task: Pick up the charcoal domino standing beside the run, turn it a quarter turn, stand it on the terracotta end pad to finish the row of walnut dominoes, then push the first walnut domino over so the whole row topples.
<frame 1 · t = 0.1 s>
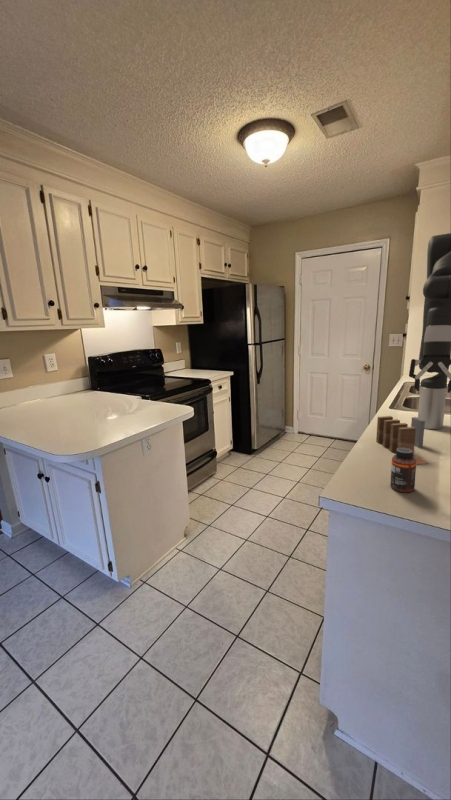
hand: (432, 391, 106), 22 cm above the counter, tool pointing down, fingers open, 8 cm apart
domino 1: (383, 442, 125), on the counter
domino 3: (397, 450, 116), on the counter
domino 5: (416, 445, 120), on the counter
domino 2: (390, 446, 120), on the counter
supplement bottle: (401, 488, 91), on the counter
domino 4: (405, 455, 112), on the counter
end pad: (413, 461, 107), on the counter
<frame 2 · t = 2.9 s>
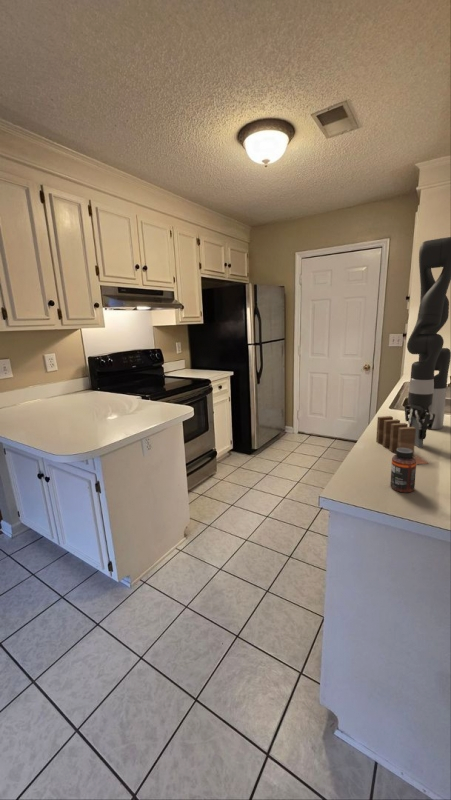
hand: (416, 436, 120), 3 cm above the counter, tool pointing down, fingers closed on domino 5, 5 cm apart
domino 5: (416, 445, 120), on the counter, touching gripper
everything else where it was.
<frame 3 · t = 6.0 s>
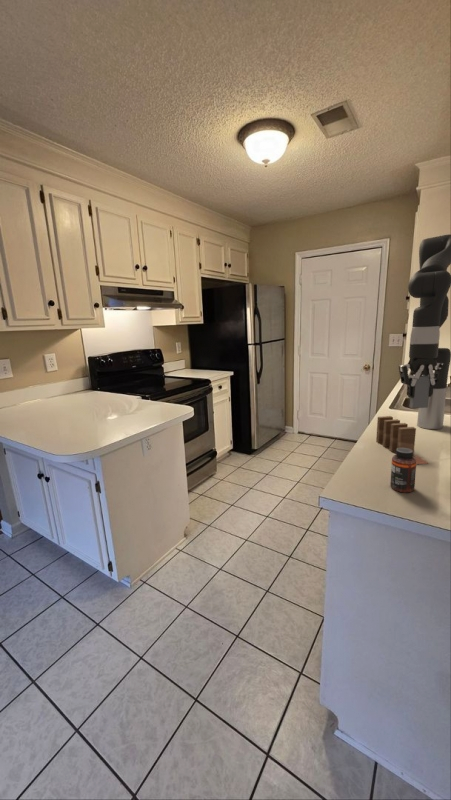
hand: (419, 396, 102), 22 cm above the counter, tool pointing down, fingers closed on domino 5, 5 cm apart
domino 5: (418, 407, 103), point 18 cm above the counter, touching gripper
everything else where it was.
when the fingers open (4 cm above the counter, at t = 9.2 s): domino 5 stays where it is, resting on end pad.
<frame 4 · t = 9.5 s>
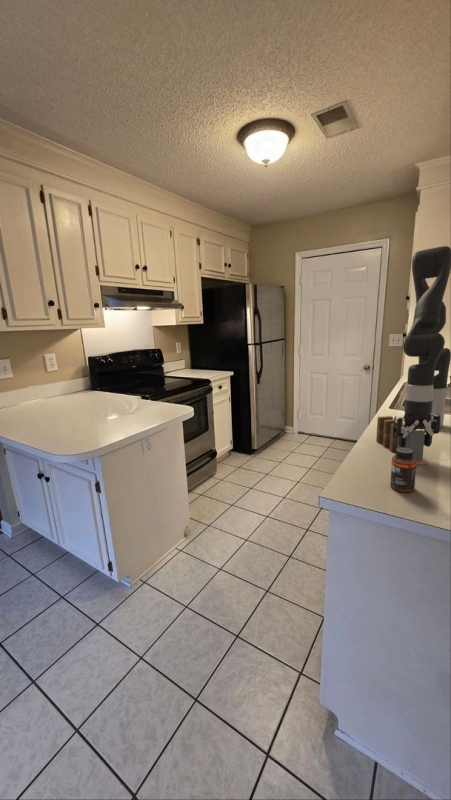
hand: (414, 446, 106), 5 cm above the counter, tool pointing down, fingers open, 8 cm apart
domino 5: (413, 460, 107), resting on end pad
everything else where it was.
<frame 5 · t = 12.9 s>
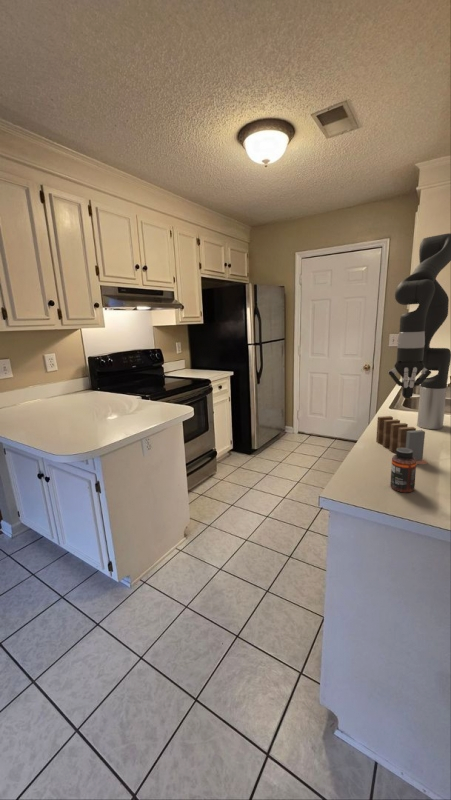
hand: (406, 398, 109), 20 cm above the counter, tool pointing down, fingers closed
nothing on the counter moved.
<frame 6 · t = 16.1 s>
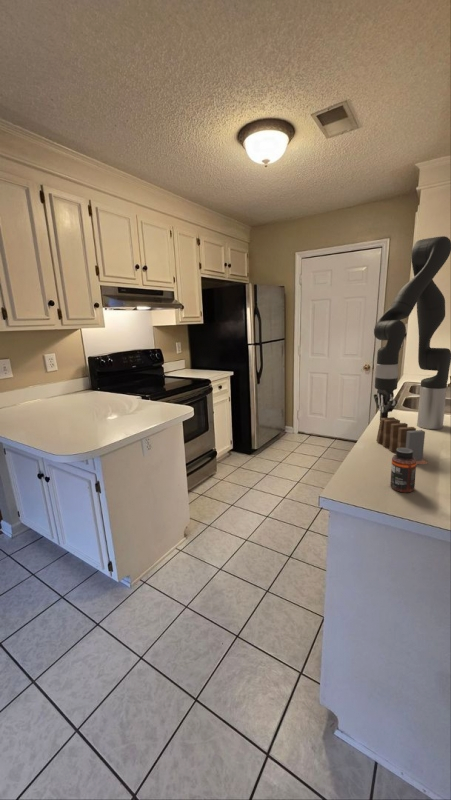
hand: (383, 421, 124), 8 cm above the counter, tool pointing down, fingers closed
domino 1: (383, 441, 125), on the counter, tilted 12°
everything else where it was.
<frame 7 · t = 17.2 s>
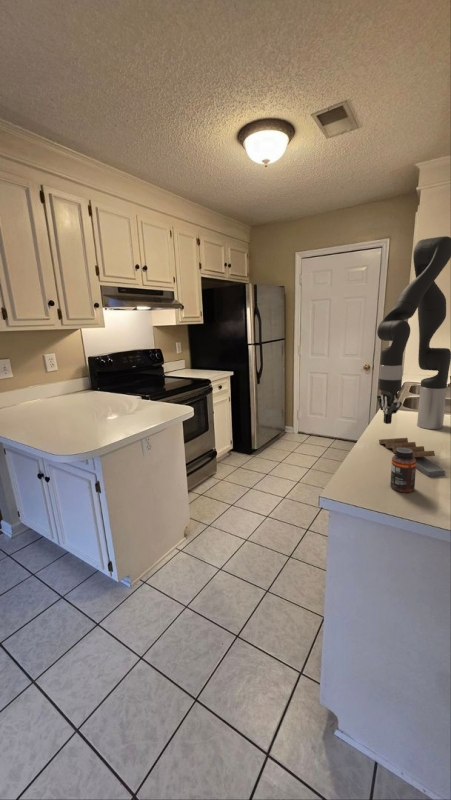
hand: (387, 423, 121), 8 cm above the counter, tool pointing down, fingers closed
domino 1: (385, 441, 123), point 1 cm above the counter, tilted 68°, touching domino 2
domino 3: (399, 450, 115), point 1 cm above the counter, tilted 66°, touching domino 2, domino 4
domino 5: (415, 459, 106), point 1 cm above the counter, tilted 92°, touching domino 4, end pad
domino 2: (392, 445, 119), point 1 cm above the counter, tilted 68°, touching domino 1, domino 3
domino 4: (407, 454, 110), point 1 cm above the counter, tilted 66°, touching domino 3, domino 5
everything else where it was.
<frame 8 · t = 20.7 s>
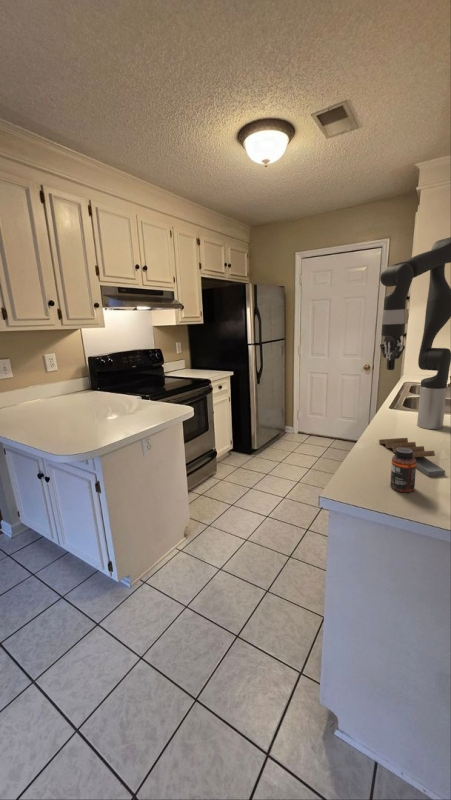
hand: (390, 369, 123), 27 cm above the counter, tool pointing down, fingers closed
nothing on the counter moved.
at the end: domino 5 tilted 92°; domino 5 1.0 cm from the end pad (horizontally); domino 3 tilted 66° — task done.
